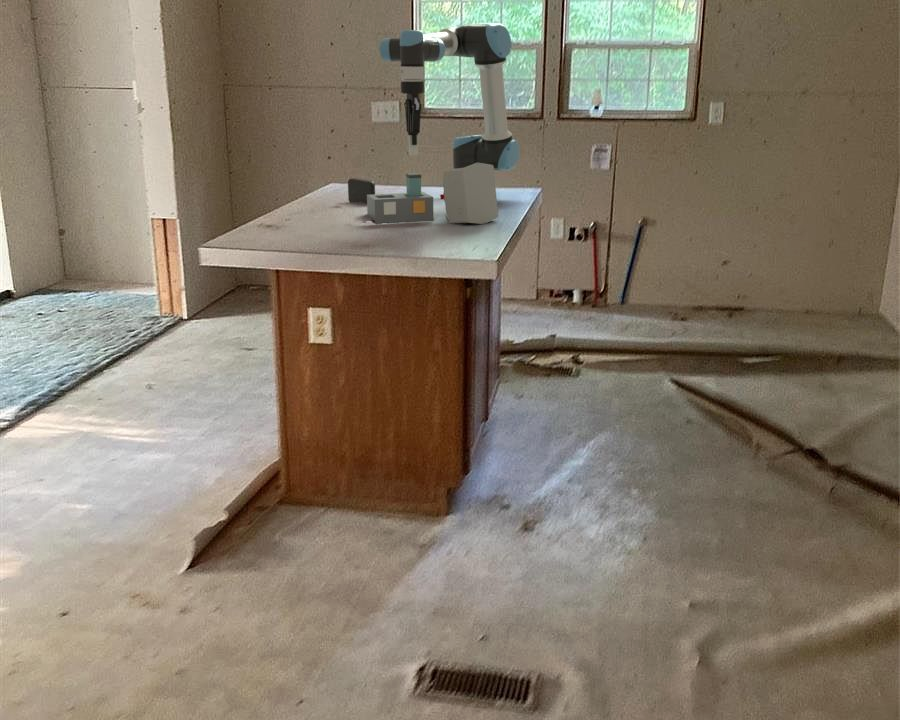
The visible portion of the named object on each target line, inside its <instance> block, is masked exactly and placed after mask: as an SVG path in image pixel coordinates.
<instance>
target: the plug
mask: <svg viewBox="0 0 900 720" xmlns="http://www.w3.org/2000/svg"><path fill="white" fill-rule="evenodd" d="M405 177H406V178H405V180H406V182H405V183H406V193H407V197H415V196H421V192H422V174H421V173H417V172H416V173H415V172H414V173H405Z"/></svg>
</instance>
